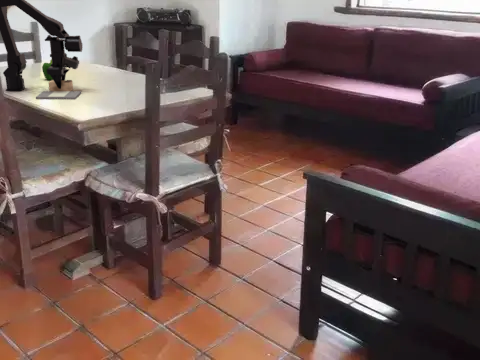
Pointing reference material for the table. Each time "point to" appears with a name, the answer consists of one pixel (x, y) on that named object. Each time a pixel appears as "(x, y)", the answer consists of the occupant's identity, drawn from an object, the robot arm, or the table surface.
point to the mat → (58, 95)
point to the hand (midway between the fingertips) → (61, 87)
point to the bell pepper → (44, 68)
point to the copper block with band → (65, 86)
